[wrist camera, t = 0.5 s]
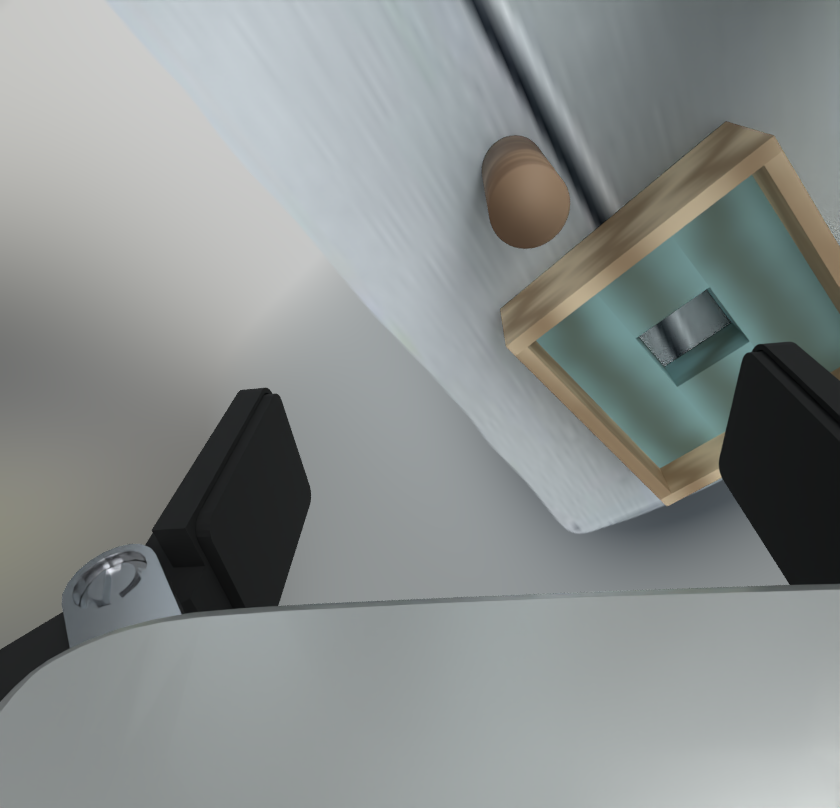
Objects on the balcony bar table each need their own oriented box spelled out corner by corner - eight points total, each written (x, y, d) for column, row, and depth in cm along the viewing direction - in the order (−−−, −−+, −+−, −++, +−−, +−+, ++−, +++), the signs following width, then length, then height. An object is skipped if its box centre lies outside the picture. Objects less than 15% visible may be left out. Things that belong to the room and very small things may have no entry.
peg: (516, 120, 33) (535, 146, 25) (556, 169, 34) (586, 209, 26) (469, 168, 35) (472, 208, 27) (508, 213, 36) (523, 264, 28)
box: (725, 121, 32) (774, 135, 27) (858, 334, 40) (915, 375, 35) (500, 309, 40) (505, 346, 35) (645, 458, 47) (666, 506, 43)
